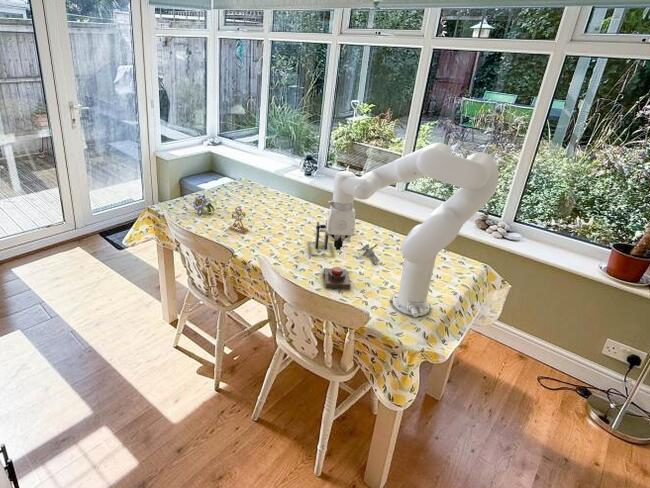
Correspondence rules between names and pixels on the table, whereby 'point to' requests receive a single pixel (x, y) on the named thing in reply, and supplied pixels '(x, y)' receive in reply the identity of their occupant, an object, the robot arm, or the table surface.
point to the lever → (322, 228)
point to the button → (337, 271)
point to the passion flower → (202, 204)
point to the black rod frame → (318, 237)
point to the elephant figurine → (370, 253)
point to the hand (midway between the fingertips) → (337, 248)
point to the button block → (336, 279)
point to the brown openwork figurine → (239, 221)
